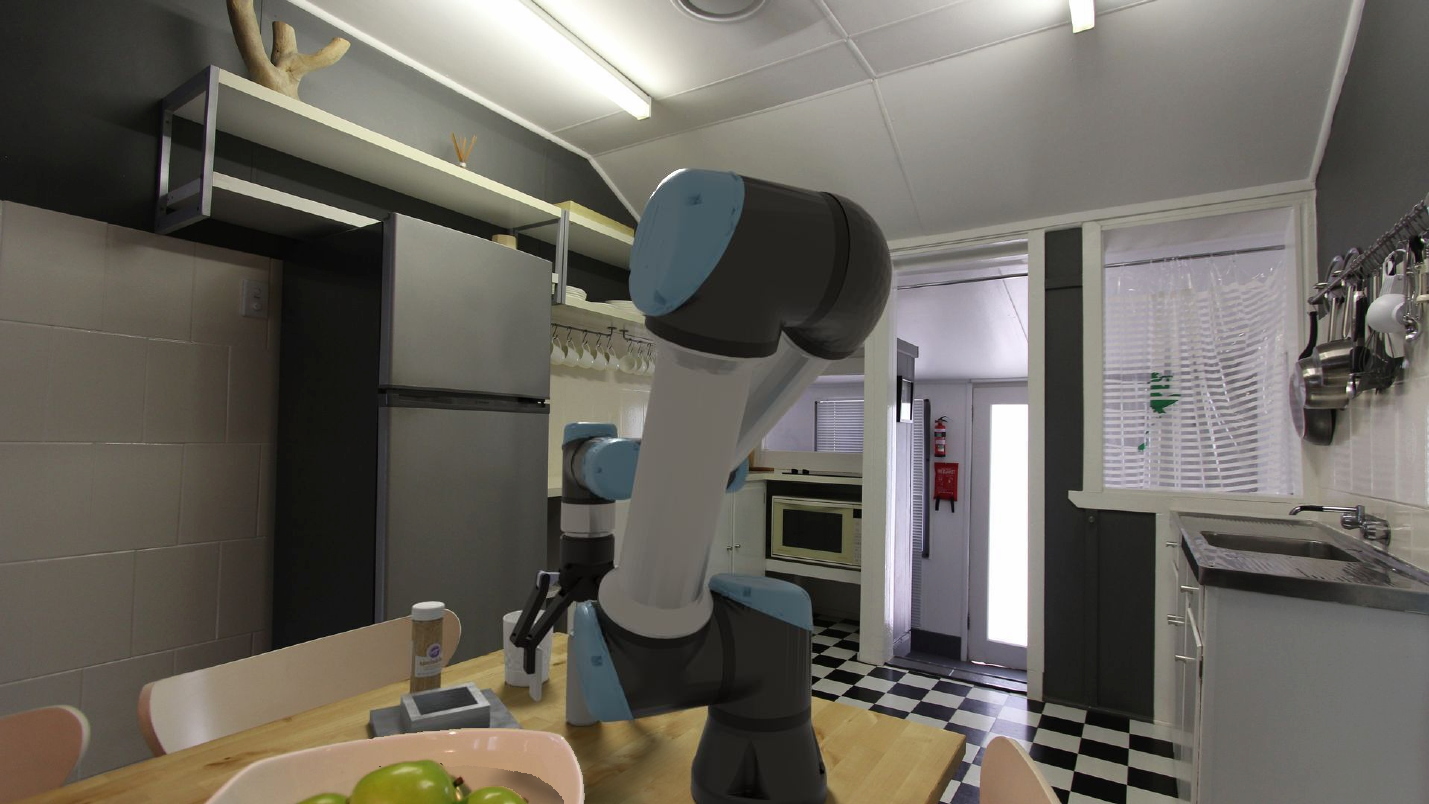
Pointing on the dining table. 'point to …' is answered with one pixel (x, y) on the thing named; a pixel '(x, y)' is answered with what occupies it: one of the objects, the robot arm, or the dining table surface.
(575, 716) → the beverage can
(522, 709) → the dining table surface
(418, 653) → the sprinkles bottle
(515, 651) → the white cup
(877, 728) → the dining table surface
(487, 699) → the gray square base
